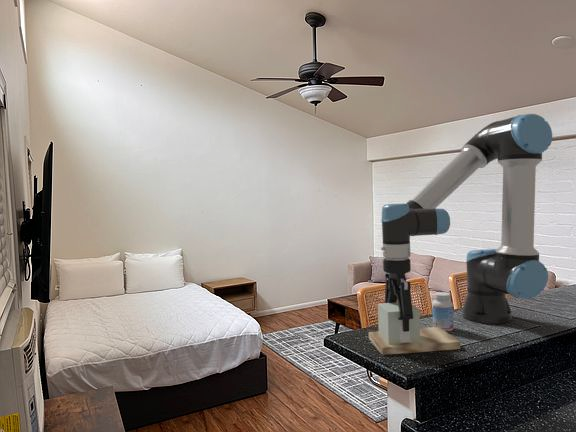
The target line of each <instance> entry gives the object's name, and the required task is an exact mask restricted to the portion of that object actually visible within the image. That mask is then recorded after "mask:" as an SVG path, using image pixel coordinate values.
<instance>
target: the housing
mask: <svg viewBox="0 0 576 432" xmlns="http://www.w3.org/2000/svg"><path fill="white" fill-rule="evenodd" d="M412 310H413V319H410V342H405V343H414V342H420V328H421V321H420V320H421V315H420V314H421V313H420V312H421V309H419V308H417V307H416V306H414V305H413V304H412ZM406 315H407V314H406ZM377 317H378V318H377V321H378V322H377V323H378V331H379V334H380V335H381V337H382V338H383V339H384V340H385V341H386V342H387V343H388V344H400V331H399V320H398V318H399V317H400V312H399V306H398V301H397V302H396V303H385V302H382V303H381V302H379V303H377Z"/></svg>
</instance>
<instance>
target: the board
mask: <svg viewBox="0 0 576 432" xmlns="http://www.w3.org/2000/svg"><path fill="white" fill-rule="evenodd" d="M368 339H369V341H370V342H371V343H372V344H373V345H374V347H375V348H376V349H377V350H378V352H379V353H380V354H381V355H383V356H386V355H397V354H398V355H400V354H412V353H425V352H435V351H436V352H437V351H440V352H441V351H451V350H452V351H453V350H461V341H460V340H458V339H457V338H456V337H454V336H453V335H452V334H450V333H448V331H444V330H443V329H441V328H440V327H433V326H431V327H429V326H428V327H420V342H414V343H400V344H388V343H387V342H386V341H385V340H384V339H383V338H382V337H381V335H380V334H379V330H376V331H368Z"/></svg>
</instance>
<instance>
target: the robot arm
mask: <svg viewBox="0 0 576 432" xmlns="http://www.w3.org/2000/svg"><path fill="white" fill-rule="evenodd" d="M552 141H553V131H552V127H551V125H550V124H549V122H548V121H547V120H545V117H542V116H541V115H539V114H536V113H526V114H518V115H515V116H512V117H509V118H506V119H501V120H496V121H493V122H491V123H489V124H487V125H486V126H484V127H483V128H482V129H480V130H479V131H478V132H477V133H476V134H474V135H473V136H472V137H471V138H470V139H469V140H468V141H467V142H465V143H464V145H463V146H462V147H461V148H460V149H461V150H460V152H459V153H458V154H457V155H456V157H455V158H453V159H452V160H451V161H450V162H449V163H448V164H447V165H446V166H445V167H444V168H442V169H441V170H440V171H439V172H438V173H437V174H436V175H435V176H434V177H433V178H432V179H430V181H429V182H428V183H427V184H425V186H423V187H422V188H421V189H420V190H419V191H418V192H417V193H416V194H415V195H413V197H411V198H410V199H409V200H408V201H407V202H406V203H387V204H383V206H382V208H381V220H380V222H381V229H382V230H381V231H382V247H380V250H381V251H382V257H383V260H382V267H383V272H384V273H385V274H384V276H385V277H384V278H385V285H384V303H396V302H398V306H399V312H400V317H399V318H398V320H399V331H400V343H405V342H410V319H413V310H412V305H413V304H412V301H413V300H412V293H411V282H410V281H407V278H406V276H405V275H406V274H408V273H410V272H411V269H412V268H411V265H412V264H411V259H410V257H411V237H415V236H417V237H418V236H438V235H443V234H446V233H448V231H449V229H450V227H451V217H450V214H449V212H448V211H447V210H446V209H444V208H438V207H439V206H440V205H441V204H442V203H443V202H444V201H445V200H446V199H447V198H449V196H451V195H452V194H453V192H455V191H456V190H457V189H458V188H459V187H460V186H461V185H462V184H464V182H466V181H467V180H468V179H469V178H470V177H471V176H472V175H473V174H474V173H475V172H476V171H477V170H478V169H483V168H485V167H486V166H488V164H489V163H491V162H493V161H495V160H497V163H498V164H499V165H500V166H501V167H502V201H501V203H502V205H501V242H500V247H498V248H493V249H491V248H490V249H489V248H487V249H475V250H473V249H472V250H470V251H468V252H467V254H466V261H465V263H466V287H467V288H466V289H467V290H466V291H467V292H466V297H465V300H464V303H463V305H462V307H461V312H462V314H461V315H462V317H463V318H464V319H466V320H468V321H471V322H475V323H480V324H488V325H489V324H490V325H495V324H496V325H498V324H499V325H500V324H501V325H502V324H506V323H509V322H511V321H512V320H513V314H512V310H511V307H510V305H509V302H508V299H507V295H508V296H511V297H514V298H519V299H526V300H527V299H534V298H536V297H537V296H539V295H540V294H541V293H542V292H543V291H544V290H545V289H546V286H547V284H548V281H549V271H548V268H547V267H546V266H545V264H544V263H542V262H541V261H540V252H539V251H538V250H537V249H536V248H535V247H534V243H535V242H534V240H535V238H534V237H535V234H534V233H535V212H536V211H535V203H536V176H537V175H536V169H537V166H538V165H539V164H540V163H541V162H542V161H543V153H544V152H546V151H547V150H548V149H549V147H550V146H551V144H552ZM406 314H407V315H406Z"/></svg>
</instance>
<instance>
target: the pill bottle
mask: <svg viewBox="0 0 576 432" xmlns="http://www.w3.org/2000/svg"><path fill="white" fill-rule="evenodd" d="M454 326H455V324H454V304H453V301H451V293H450V292H447V291H446V292H445V291H438V292H434V300H433V301H432V327H440V328H441V329H443V330H444V331H446V332H451V331H453V330H454Z"/></svg>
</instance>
